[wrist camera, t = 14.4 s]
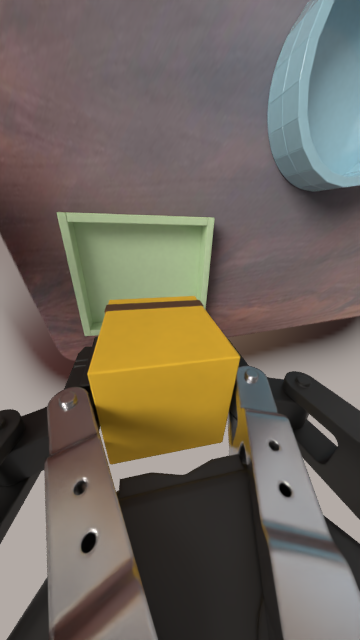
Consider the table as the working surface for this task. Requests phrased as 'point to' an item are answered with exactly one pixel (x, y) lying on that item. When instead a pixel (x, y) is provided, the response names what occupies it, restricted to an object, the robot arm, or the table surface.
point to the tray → (134, 259)
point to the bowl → (318, 98)
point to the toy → (161, 377)
